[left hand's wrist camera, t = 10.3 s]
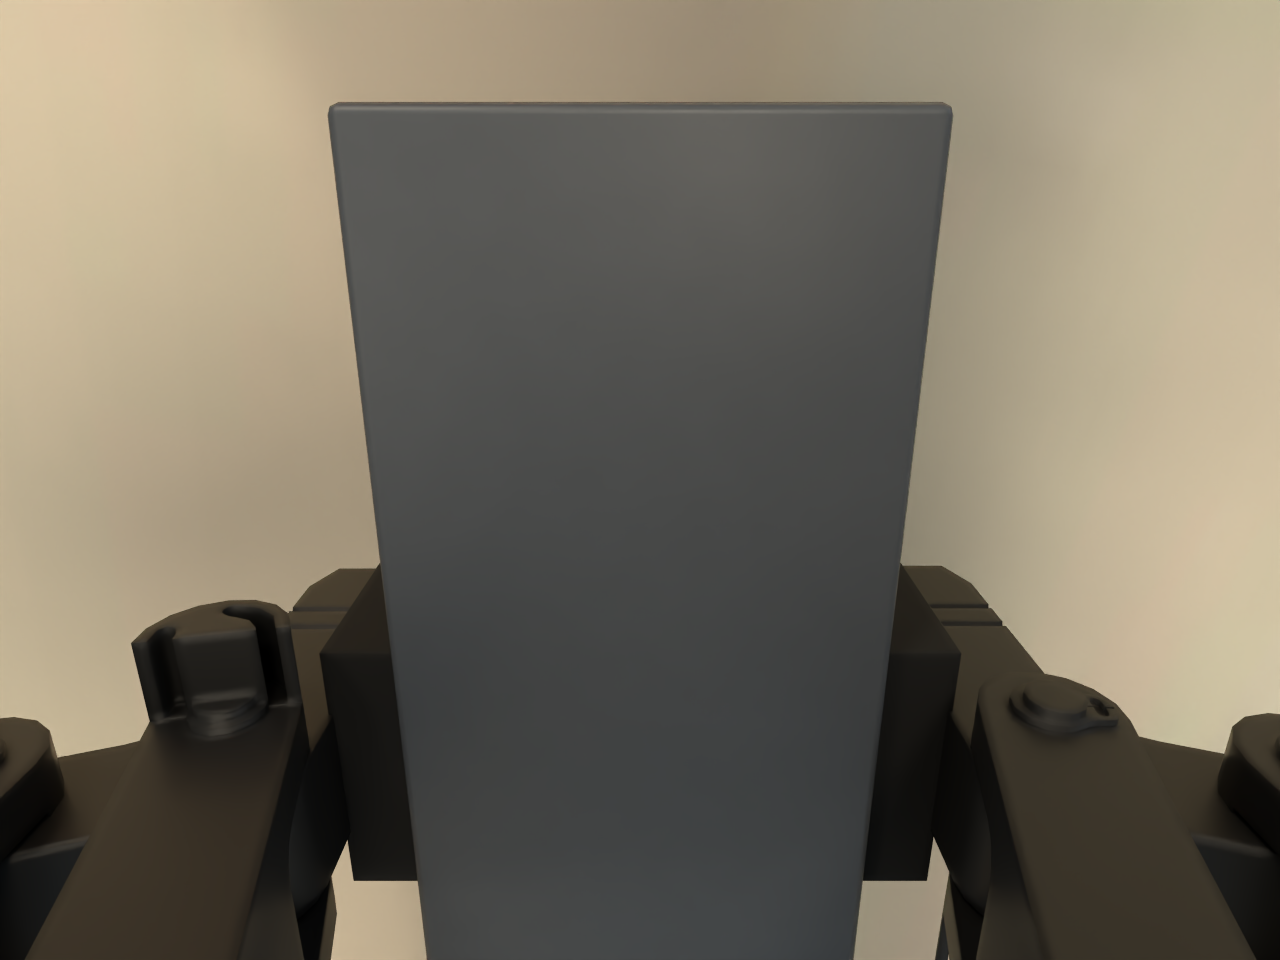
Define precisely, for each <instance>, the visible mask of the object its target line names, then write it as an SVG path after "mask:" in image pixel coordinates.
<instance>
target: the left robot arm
mask: <svg viewBox="0 0 1280 960" xmlns="http://www.w3.org/2000/svg"><path fill="white" fill-rule="evenodd" d="M131 645H132V649H133V654H134V658H135V662H136V666H137V670H138V674H139V679H140V683H141V687H142V691H143V695H144V699H145V704H146V708H147V712H148V716H149V720H150V722H149V724H148V726H147V728H146V730H145V732H144V734H143V736H142V738H141V739H140V741H137V742H133V743H129V744H125V745H121V746H116V747H110V748H105V749H100V750H95V751H90V752H85V753H79V754H74V755H69V756H64V757H59V758H57V755H56V751H55V748H54V744H53V741H52V737H51V734H50V731H49V730H48V729H47V728H46V727H44V726H43V725H42V724H41V723H39V722H38V721H36V720H29V719H23V718H16V717H10V718H0V960H331V953H332V946H333V939H334V931H335V924H336V916H337V911H336V903H335V895H334V889H333V883H332V877H331V876H332V874H333V871H334V869H335V867H336V864H337V862H338V860H339V858H340V855H341V853H342V851H343V849H344V846H345V844H346V842H347V840H348V846H349V852H350V859H351V865H352V872H353V879H354V881H418V878H417V870H416V861H415V853H414V844H413V836H412V827H411V819H410V810H409V802H408V793H407V785H406V776H405V768H404V759H403V751H402V742H401V734H400V725H399V717H398V708H397V700H396V691H395V683H394V674H393V666H392V657H391V649H390V640H389V632H388V623H387V615H386V606H385V598H384V589H383V581H382V572H381V564H379V565H378V567H377V568H376V569H338V570H336V571H335V572H333V573H331V574H330V575H328V576H326V577H325V578H323V579H321V580H320V581H318V582H316V583H315V584H313V585H311V586H310V587H309V588H308V589H307V590H306V592H305V593H304V594H303V595H302V597H301V598H300V599H299V600H298V602H297V603H296V604H295V605H294V607H293V611H290V612H289V613H287V612H285V611H284V610H283V609H281V608H280V607H279V606H277V605H275V604H271V603H266V602H262V601H257V600H229V601H223V602H217V603H212V604H206V605H200V606H197V607H194V608H191V609H188V610H185V611H182V612H179V613H176V614H173V615H170V616H168V617H167V618H165V619H163V620H161V621H159V622H157V623H156V624H154V625H152V626H150V627H148V628H146V629H145V630H144V631H143V632H142V633H141V634H140V635H139V636H138V637H137V638H136V639H135V640H134V641H133V642H132V643H131ZM933 837H934V838H935V841H936V843H937V845H938V847H939V850H940V852H941V854H942V856H943V859H944V861H945V863H946V865H947V868H948V870H949V877H948V883H947V889H946V895H945V901H944V908H943V914H942V920H941V926H940V932H939V938H938V944H937V950H936V958H935V960H948V955H949V959H950V960H1280V714H1271V713H1266V714H1260V715H1253V716H1247V717H1244V718H1243V719H1241V720H1240V721H1239V722H1238V723H1236V724H1235V725H1234V726H1233V727H1232V730H1231V733H1230V737H1229V740H1228V744H1227V747H1226V751H1225V754H1222V753H1216V752H1211V751H1206V750H1201V749H1196V748H1190V747H1185V746H1180V745H1175V744H1169V743H1164V742H1159V741H1155V740H1151V739H1147V738H1143V737H1139V736H1138V734H1137V732H1136V730H1135V728H1134V727H1133V725H1132V723H1131V721H1130V720H1129V718H1128V717H1127V716H1126V715H1125V714H1124V713H1123V711H1122V710H1121V709H1120V708H1119V707H1118V706H1117V704H1115V703H1114V702H1112V701H1111V700H1109V699H1108V698H1106V697H1105V696H1103V695H1102V694H1100V693H1098V692H1097V691H1095V690H1094V689H1092V688H1089V687H1087V686H1084V685H1081V684H1079V683H1076V682H1074V681H1071V680H1069V679H1066V678H1062V677H1057V676H1052V675H1048V674H1044V672H1043V671H1042V670H1041V669H1040V668H1039V666H1038V665H1037V664H1036V663H1035V661H1034V660H1033V659H1032V658H1031V656H1030V655H1029V654H1028V653H1027V651H1026V650H1025V649H1024V648H1023V647H1022V645H1021V644H1020V643H1019V642H1018V640H1017V639H1016V638H1015V637H1014V635H1013V634H1012V633H1011V632H1010V631H1009V629H1008V628H1007V627H1006V626H1002V621H1001V619H1000V618H999V617H998V616H997V615H996V613H995V612H994V611H993V610H992V608H988V603H987V602H986V601H985V600H984V599H983V597H982V596H981V595H980V594H979V592H978V591H977V590H976V589H975V587H974V586H973V585H972V584H971V583H969V582H968V581H966V580H964V579H963V578H961V577H959V576H958V575H956V574H954V573H953V572H951V571H949V570H948V569H946V568H944V567H943V566H902V564H901V563H900V569H899V577H898V586H897V594H896V603H895V611H894V620H893V628H892V637H891V645H890V653H889V662H888V670H887V679H886V687H885V696H884V704H883V713H882V721H881V730H880V738H879V746H878V755H877V763H876V772H875V780H874V789H873V797H872V806H871V814H870V822H869V831H868V839H867V848H866V856H865V865H864V873H863V881H927V876H928V870H929V863H930V857H931V850H932V843H933Z"/></svg>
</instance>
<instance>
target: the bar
mask: <svg viewBox="0 0 1280 960" xmlns="http://www.w3.org/2000/svg"><path fill="white" fill-rule="evenodd" d="M952 121H953V113H952V108H951V106H949V105H947V104H945V103H943V102H338V103H336V104H334V105H332V106H330V107H329V112H328V122H329V130H330V139H331V147H332V156H333V164H334V173H335V181H336V190H337V198H338V207H339V215H340V224H341V232H342V241H343V249H344V258H345V266H346V275H347V283H348V292H349V300H350V309H351V317H352V326H353V334H354V343H355V351H356V360H357V368H358V377H359V385H360V394H361V402H362V411H363V419H364V428H365V436H366V445H367V453H368V462H369V470H370V479H371V487H372V496H373V504H374V513H375V521H376V530H377V538H378V547H379V555H380V564H381V572H382V581H383V589H384V598H385V606H386V615H387V623H388V632H389V640H390V649H391V657H392V666H393V674H394V683H395V691H396V700H397V708H398V717H399V725H400V734H401V742H402V751H403V759H404V768H405V776H406V785H407V793H408V802H409V810H410V819H411V827H412V836H413V844H414V853H415V861H416V870H417V878H418V887H419V895H420V904H421V912H422V921H423V929H424V938H425V946H426V955H427V960H853V958H854V949H855V941H856V932H857V924H858V915H859V907H860V899H861V890H862V882H863V873H864V865H865V856H866V848H867V839H868V831H869V822H870V814H871V806H872V797H873V789H874V780H875V772H876V763H877V755H878V746H879V738H880V730H881V721H882V713H883V704H884V696H885V687H886V679H887V670H888V662H889V653H890V645H891V637H892V628H893V620H894V611H895V603H896V594H897V586H898V577H899V569H900V560H901V552H902V544H903V535H904V527H905V518H906V510H907V501H908V493H909V484H910V476H911V468H912V459H913V451H914V442H915V434H916V425H917V417H918V408H919V400H920V391H921V383H922V375H923V366H924V358H925V349H926V341H927V332H928V324H929V315H930V307H931V298H932V290H933V282H934V273H935V265H936V256H937V248H938V239H939V231H940V222H941V214H942V206H943V197H944V189H945V180H946V172H947V163H948V155H949V146H950V138H951V129H952Z"/></svg>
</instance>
